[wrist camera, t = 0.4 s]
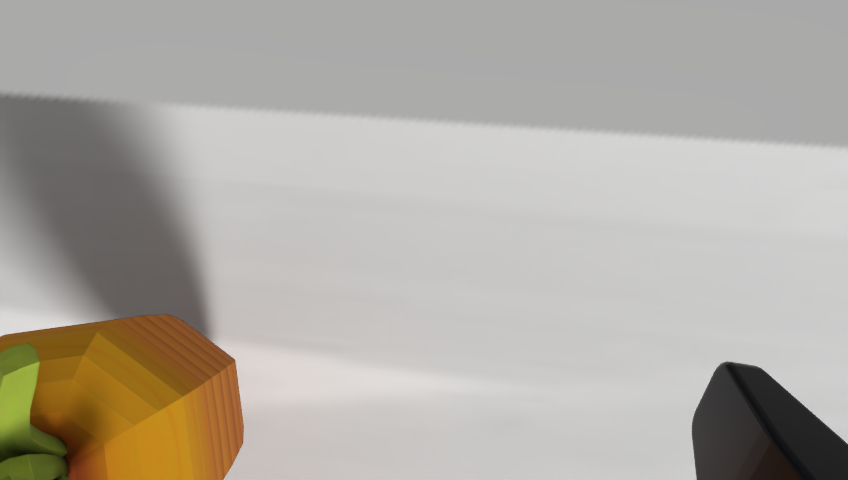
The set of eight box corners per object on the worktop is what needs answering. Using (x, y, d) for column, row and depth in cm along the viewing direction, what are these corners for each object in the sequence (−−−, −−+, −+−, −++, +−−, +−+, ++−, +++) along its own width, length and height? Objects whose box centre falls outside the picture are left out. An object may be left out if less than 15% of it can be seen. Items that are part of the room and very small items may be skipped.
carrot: (85, 347, 24) (-411, 490, 9) (233, 262, 24) (-7, 264, 9) (169, 493, 24) (-184, 880, 9) (317, 406, 24) (211, 640, 9)
